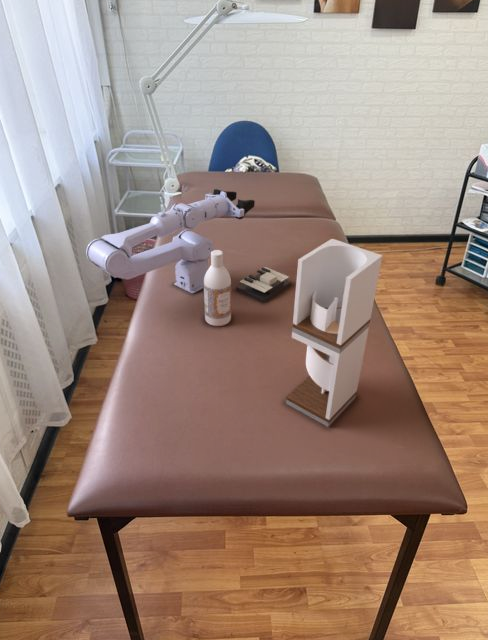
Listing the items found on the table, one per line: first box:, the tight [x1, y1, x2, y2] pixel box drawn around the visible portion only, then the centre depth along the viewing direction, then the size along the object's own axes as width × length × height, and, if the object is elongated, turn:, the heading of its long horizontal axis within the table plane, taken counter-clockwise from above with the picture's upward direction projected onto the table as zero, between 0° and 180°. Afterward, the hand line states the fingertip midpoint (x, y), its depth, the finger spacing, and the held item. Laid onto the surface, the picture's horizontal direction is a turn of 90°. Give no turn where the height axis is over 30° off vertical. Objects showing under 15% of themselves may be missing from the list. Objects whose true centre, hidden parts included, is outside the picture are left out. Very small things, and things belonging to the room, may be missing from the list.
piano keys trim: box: [239, 266, 290, 293], centre depth 147 cm, size 9×12×1 cm
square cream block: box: [260, 272, 277, 286], centre depth 147 cm, size 4×4×2 cm
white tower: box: [285, 238, 383, 428], centre depth 101 cm, size 11×11×35 cm
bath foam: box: [203, 249, 232, 327], centre depth 130 cm, size 7×7×20 cm
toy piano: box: [236, 273, 292, 304], centre depth 149 cm, size 10×13×3 cm
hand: (244, 199), depth 151 cm, fingers open, 7 cm apart
